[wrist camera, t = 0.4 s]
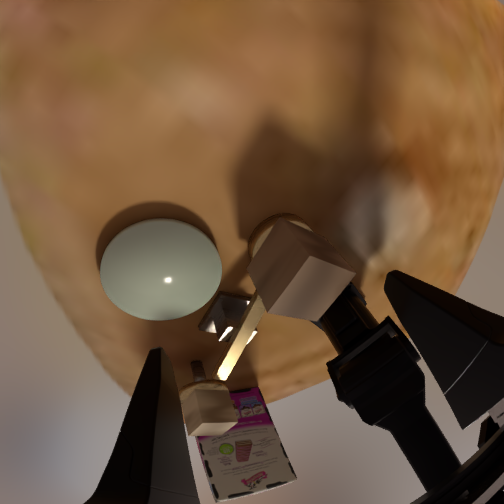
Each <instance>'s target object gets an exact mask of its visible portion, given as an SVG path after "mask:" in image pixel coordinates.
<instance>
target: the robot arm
mask: <svg viewBox="0 0 504 504" xmlns="http://www.w3.org/2000/svg"><path fill="white" fill-rule="evenodd" d="M384 291H385V294H386V296H387V297H388V299H389V301H390V303H391V305H392V307H393V309H394V311H395V313H396V314H397V316H398V318H399V320H400V322H401V323H402V325H403V327H404V328H405V330H406V331H407V333H408V334H409V336H410V338H411V339H412V341H413V342H414V344H415V346H416V347H417V349H418V351H419V352H420V354H421V355H422V357H423V359H424V360H425V362H426V364H427V366H428V367H429V369H430V371H431V372H432V374H433V376H434V378H435V379H436V381H437V383H438V384H439V386H440V388H441V390H442V392H443V394H444V396H445V397H446V400H447V401H448V403H449V405H450V407H451V409H452V411H453V413H454V415H455V417H456V418H457V421H458V423H459V424H460V426H461V428H462V430H464V429H465V428H467V427H468V426H469V425H471V424H472V423H473V422H475V421H476V420H478V419H479V418H480V417H481V416H483V415H484V414H485V413H486V412H489V414H490V415H489V416H488V417H487V418H486V419H485V420H484V421H483V422H482V423H481V428H480V435H479V441H478V447H479V450H478V451H477V452H476V453H475V454H474V455H473V456H472V457H471V458H470V459H468V460H467V461H466V462H465V463H464V464H463V465H461V463H460V461H459V459H458V458H457V456H456V454H455V452H454V451H453V449H452V447H451V446H450V444H449V443H448V441H447V439H446V438H445V436H444V434H443V433H442V431H441V430H440V428H439V426H438V425H437V423H436V421H435V420H434V419H433V417H432V415H431V414H430V412H429V411H428V409H427V407H426V406H425V376H424V373H423V372H422V370H421V369H420V368H419V366H418V365H417V362H418V361H419V360H420V359H421V357H420V355H419V354H418V352H417V351H416V349H415V348H414V346H413V345H412V344H411V342H410V341H409V340H408V338H407V337H406V336H405V335H404V333H403V332H402V331H401V330H400V329H399V327H398V326H397V325H396V324H395V323H394V321H393V320H392V319H391V318H390V317H389V316H387V317H386V318H385V320H384V321H382V322H381V323H380V324H379V323H378V322H377V321H376V319H375V318H374V317H373V315H372V314H371V313H370V311H369V310H368V309H367V308H366V304H367V303H366V301H365V300H364V299H363V297H362V296H361V294H360V293H359V292H358V290H357V289H356V288H355V286H354V285H353V284H352V282H349V284H348V285H347V286H346V287H345V289H344V290H343V291H342V292H341V294H340V295H339V296H338V297H337V298H336V300H335V301H334V302H333V303H332V304H331V306H330V307H329V308H328V309H327V310H326V311H325V313H324V314H323V315H322V316H321V317H320V318H319V320H318V321H311V320H310V321H311V322H312V323H314V324H315V325H316V326H318V327H319V328H320V329H322V330H323V331H324V332H325V333H326V335H327V336H328V338H329V340H330V341H331V343H332V345H333V346H334V348H335V350H336V351H337V353H338V356H337V357H336V358H334V359H333V360H331V361H329V362H327V363H326V365H327V367H328V372H329V375H330V377H331V379H332V382H333V384H334V387H335V389H336V394H337V398H338V400H339V401H341V402H344V403H345V404H346V405H348V407H350V408H351V409H353V408H355V410H356V411H357V413H358V414H359V416H360V417H361V419H362V421H364V422H365V423H367V424H369V425H371V426H373V425H376V426H378V427H381V428H383V429H385V430H388V431H390V432H391V434H392V435H393V437H394V438H395V440H396V442H397V443H398V445H399V447H400V448H401V450H402V451H403V453H404V454H405V456H406V458H407V460H408V461H409V463H410V464H411V466H412V468H413V469H414V471H415V473H416V474H417V476H418V478H419V479H420V481H421V483H422V484H423V486H424V488H425V490H426V491H427V493H425V494H424V495H422V496H421V497H419V498H418V499H416V500H415V501H414V502H412V503H410V504H504V491H503V490H504V317H502V316H500V315H497V314H495V313H492V312H490V311H487V310H485V309H482V308H480V307H477V306H475V305H473V304H471V303H469V302H466V301H465V300H463V299H461V298H458V297H456V296H454V295H452V294H450V293H448V292H445V291H443V290H441V289H439V288H437V287H435V286H432V285H430V284H428V283H426V282H423V281H421V280H419V279H417V278H414V277H412V276H410V275H408V274H405V273H403V272H401V271H398V270H393V271H391V272H389V273H388V274H387V276H386V280H385V284H384ZM394 335H395V336H394ZM393 336H394V337H393ZM120 431H121V432H119V435H118V438H117V441H116V444H115V447H114V449H113V452H112V455H111V457H110V459H109V461H108V464H107V466H106V468H105V470H104V473H103V475H102V477H101V480H100V482H99V484H98V486H97V488H96V490H95V492H94V493H93V495H92V496H91V497H90V498H89V499H88V500H87V501H86V502H85V503H84V504H200V501H199V498H198V493H197V489H196V484H195V480H194V475H193V470H192V466H191V461H190V455H189V450H188V445H187V439H186V433H185V427H184V421H183V414H182V407H181V401H180V397H179V393H178V389H177V385H176V381H175V377H174V373H173V368H172V364H171V361H170V359H169V357H168V356H167V354H166V353H165V351H164V350H163V348H162V347H157V348H152V349H151V350H150V351H149V354H148V356H147V359H146V361H145V364H144V366H143V369H142V371H141V374H140V377H139V379H138V382H137V385H136V387H135V390H134V393H133V395H132V398H131V401H130V404H129V407H128V409H127V412H126V415H125V418H124V421H123V424H122V427H121V429H120Z"/></svg>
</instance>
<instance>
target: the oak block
mask: <svg viewBox="0 0 504 504" xmlns="http://www.w3.org/2000/svg"><path fill="white" fill-rule="evenodd" d="M182 409H183V414H184V418H185V423H186V427H187V431H188V436H215V435H222V434H224V433H225V432H226V431H228V430H229V429H230V428H231V427H233V426H234V425H235V424H236V423H238V420H237V417H236V413H235V410H234V407H233V404H232V401H231V398H230V394H229V391H228V390H204V389H194V390H193V391H192V393H191V394H190V395H189V396H188V398H187V399H186V400H185V401H184V403H183V404H182Z"/></svg>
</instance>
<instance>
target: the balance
mask: <svg viewBox="0 0 504 504" xmlns="http://www.w3.org/2000/svg"><path fill="white" fill-rule="evenodd" d="M279 217H281V218H283V219H285V220H287V221H290V222H292V223H294V224H296V225H298V226H301V227H303V228H305V229H307V230H309V231H312V230H311V229H310V227H309V226H308V225H307V224H306V223H305V222H304V221H303V220H302V219H301V218H300V217H298V216H296V215H293V214H287V213H285V214H277V215H274V216H272V217H269V218H268V219H266V220H264V221H263V222H262V223H260V224H259V225H258V226H257V227H256V229H255V230H254V231H253V233H252V235H251V237H250V239H249V243H248V252H249V255H250V258H251V260H252V259H253V257H254V256H255V254H256V253H257V251H258V250H259V248H260V247H261V245H262V243H263V242H264V240H265V239H266V237H267V236H268V234H269V233H270V231H271V229H272V228H273V226H274V225H275V223H276V222H277V220H278V219H279ZM312 232H313V231H312ZM264 311H265V307H264V305H263V303H262V300H261V298H260V296H259V294H258V292H257V290H255V292H254V294H253V296H252V298H247V297H243V296H238V295H234V294H230V293H225V292H221V291H220V292H219V294H218V295H217V297H216V298H215V300H214V302H213V303H212V305H211V307H210V308H209V310H208V311H207V313H206V315H205V316H204V318H203V319H202V321H201V323H200V324H199V326H198V327H199V330H202V331H208V332H214V333H217V336H218V340H219V341H225V342H229V343H228V344H227V346H226V348H225V350H224V352H223V354H222V356H221V358H220V360H219V362H218V363H217V365H216V367H215V369H214V371H213V373H212V377H213V379H214V380H206V376H205V372H204V368H203V364H202V361H199V360H196V361H193V362H191V368H192V373H193V377H194V382H193V383H190V384H188V385H186V386H184V387H183V388H181V389H180V391H179V397H180V401H181V404H183V403H184V401H185V400H186V399H187V398H188V396H189V395H190V394H191V393H192V391H193V390H194V389H204V390H228V387H227V385H226V384H225V383H224V382H222V381H219V380H226V379H227V377H228V376H229V374H230V372H231V370H232V369H233V367H234V365H235V363H236V362H237V360H238V358H239V356H240V355H241V353H242V351H243V349H244V348H245V346H246V344H248V343H249V342H250V340H251V339H252V338H253V337H254V335H255V334H256V333H257V332H258V331H257V328H256V326H257V324H258V322H259V320H260V319H261V317H262V315H263V313H264ZM228 391H229V390H228Z"/></svg>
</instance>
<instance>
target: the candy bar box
mask: <svg viewBox="0 0 504 504" xmlns="http://www.w3.org/2000/svg"><path fill="white" fill-rule="evenodd" d="M229 394H230V398H231V401H232V404H233V407H234V410H235V413H236V417H237V420H238V423H236V424H235V425H234V426H233V427H231V428H230V429H229V430H228V431H226V432H225V433H224V434H222V435H215V436H195V438H196V442H197V445H198V449H199V453H200V456H201V459H202V463H203V466H204V469H205V473H206V476H207V479H208V482H209V485H210V488H211V491H212V494H213V497H214V500H215V502H222V501H227V500H232V499H237V498H242V497H246V496H250V495H254V494H257V493H261V492H264V491H268V490H271V489H274V488H277V487H280V486H283V485H286V484H289V483H291V482H293V481H295V480H297V477H296V475H295V473H294V470H293V468H292V466H291V463H290V461H289V459H288V457H287V455H286V452H285V450H284V447H283V445H282V443H281V441H280V438H279V435H278V433H277V431H276V428H275V426H274V424H273V421H272V419H271V416H270V414H269V411H268V409H267V407H266V404H265V401H264V399H263V396H262V393H261V391H260V389H259V387H255V388H250V389H244V390H239V391H234V392H229Z"/></svg>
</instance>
